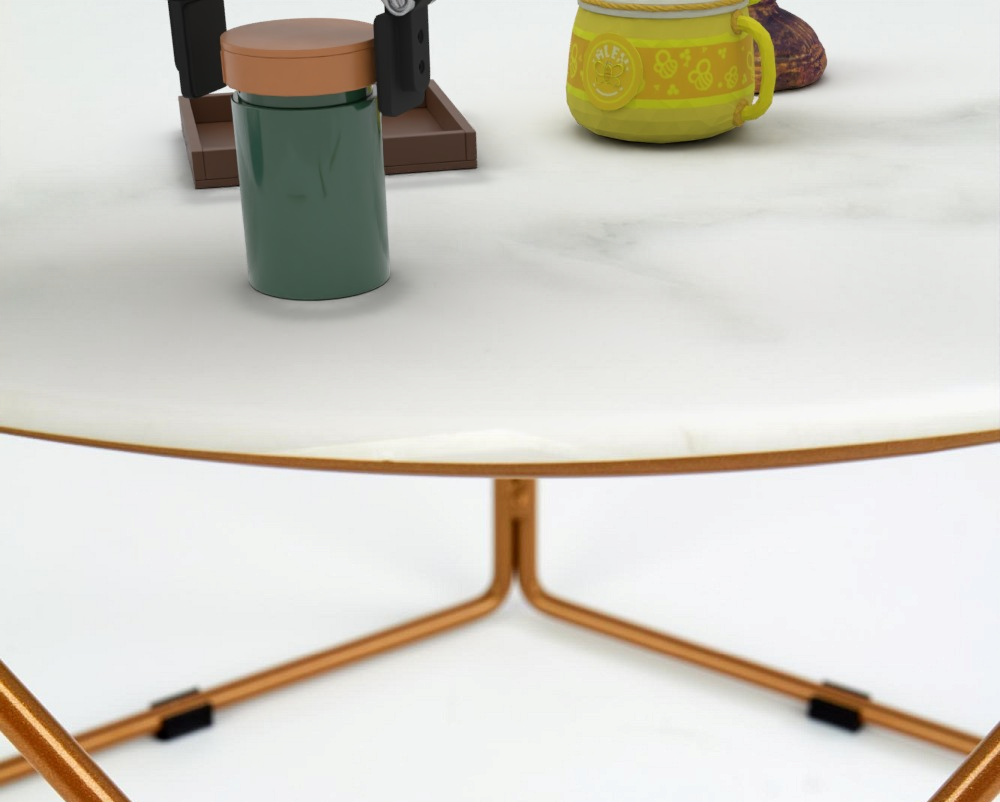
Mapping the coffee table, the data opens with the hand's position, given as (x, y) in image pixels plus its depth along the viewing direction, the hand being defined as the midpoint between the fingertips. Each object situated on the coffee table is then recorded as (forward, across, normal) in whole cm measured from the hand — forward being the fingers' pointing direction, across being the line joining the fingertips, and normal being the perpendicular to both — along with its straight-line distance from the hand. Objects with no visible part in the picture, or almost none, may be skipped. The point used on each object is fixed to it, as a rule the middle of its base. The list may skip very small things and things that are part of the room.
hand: (302, 100), depth 75 cm
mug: (+8, +7, +30) cm, 31 cm away
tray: (+7, -10, +20) cm, 23 cm away
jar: (+7, +1, -1) cm, 8 cm away
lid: (-3, +1, -1) cm, 3 cm away
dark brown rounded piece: (+8, +6, +45) cm, 46 cm away
